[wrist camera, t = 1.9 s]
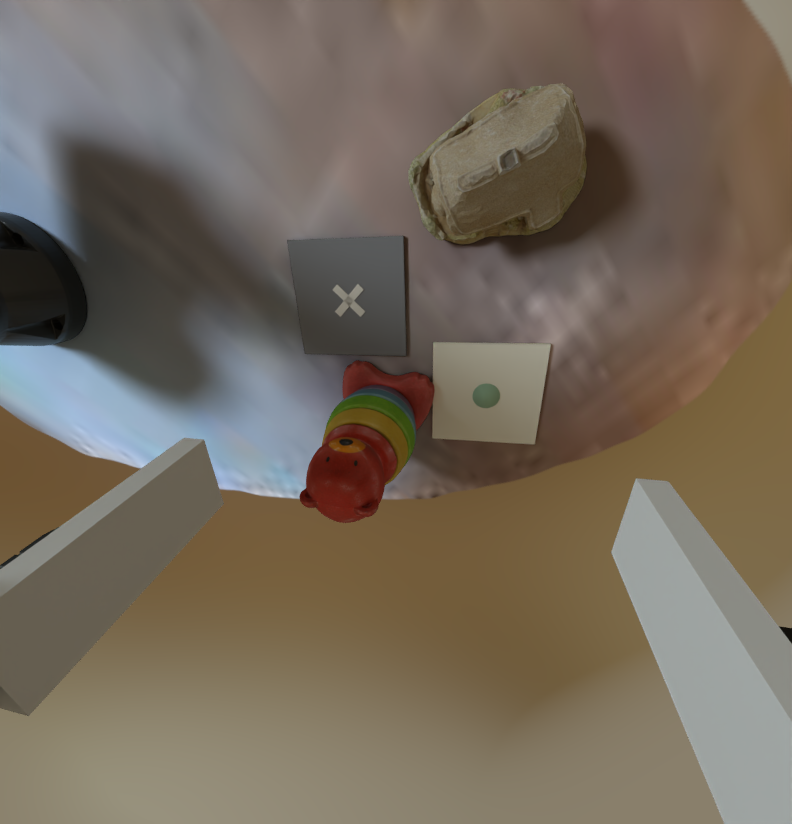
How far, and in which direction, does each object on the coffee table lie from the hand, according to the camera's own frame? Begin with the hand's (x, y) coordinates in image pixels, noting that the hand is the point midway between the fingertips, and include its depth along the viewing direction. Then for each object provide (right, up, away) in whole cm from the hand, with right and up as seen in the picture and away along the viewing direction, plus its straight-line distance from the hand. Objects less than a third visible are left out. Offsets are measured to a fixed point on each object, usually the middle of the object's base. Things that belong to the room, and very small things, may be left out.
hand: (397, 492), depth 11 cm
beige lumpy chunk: (+9, +23, +21) cm, 32 cm away
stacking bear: (-1, +4, +32) cm, 33 cm away
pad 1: (-5, +15, +28) cm, 31 cm away
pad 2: (+10, +5, +30) cm, 32 cm away
